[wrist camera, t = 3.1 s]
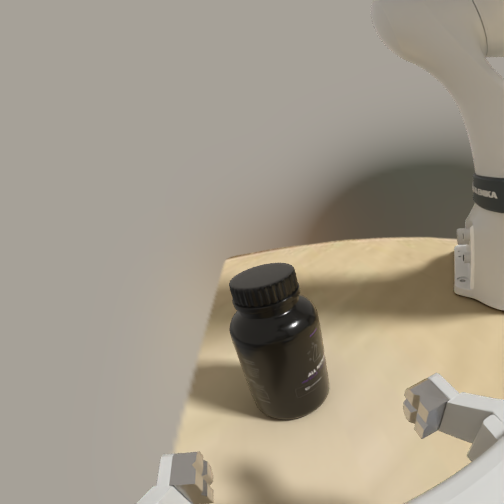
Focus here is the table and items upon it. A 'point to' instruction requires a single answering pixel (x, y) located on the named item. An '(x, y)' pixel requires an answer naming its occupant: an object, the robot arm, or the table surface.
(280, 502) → the table surface
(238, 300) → the supplement bottle
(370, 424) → the table surface
